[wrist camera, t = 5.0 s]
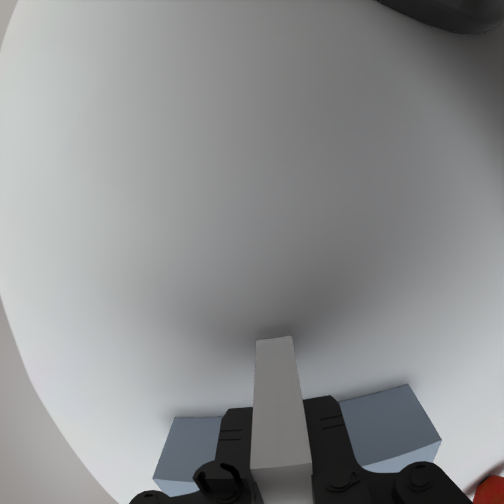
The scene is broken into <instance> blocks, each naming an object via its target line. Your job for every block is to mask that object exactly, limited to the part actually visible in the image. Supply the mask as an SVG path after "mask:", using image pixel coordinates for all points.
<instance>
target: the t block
mask: <svg viewBox="0 0 504 504" xmlns="http://www.w3.org/2000/svg"><path fill="white" fill-rule="evenodd" d="M338 403H339V404H340V408H341V411H342V414H343V418H344V421H345V425H346V428H347V431H348V434H349V438H350V441H351V445H352V448H353V452H354V455H355V458H356V460H357V462H358V464H359V465H360V466H361V467H363V468H364V469H366V470H368V471H371V472H377V473H394V472H400V471H401V470H402V469H403V468H404V467H406V466H407V465H409V464H412V463H414V462H419V461H427V462H431V463H433V460H434V458H435V456H436V453H437V451H438V448H439V446H440V443H441V441H442V439H441V438H440V436H439V434H438V432H437V431H436V429H435V427H434V426H433V424H432V422H431V420H430V419H429V417H428V415H427V414H426V412H425V410H424V409H423V407H422V406H421V404H420V402H419V401H418V399H417V397H416V396H415V394H414V393H413V391H412V389H411V388H410V386H409V385H408V384H406V385H403V386H399V387H396V388H393V389H389V390H386V391H382V392H378V393H374V394H370V395H366V396H362V397H358V398H354V399H349V400H345V401H340V402H338ZM222 418H223V417H191V418H178V417H175V418H174V421H173V423H172V426H171V429H170V432H169V434H168V437H167V440H166V442H165V445H164V448H163V451H162V453H161V456H160V459H159V462H158V464H157V467H156V470H155V473H154V475H153V478H152V479H153V480H154V481H155V483H156V484H157V485H158V486H159V488H160V489H161V490H162V492H163V493H165V494H167V495H168V496H169V497H173V496H179V495H185V494H190V493H193V492H196V491H198V490H200V489H199V488H198V486H197V485H196V483H195V482H194V480H193V479H192V477H193V475H194V473H195V471H196V470H197V469H198V468H199V467H200V466H202V465H203V464H205V463H208V462H210V461H213V460H215V454H216V448H217V442H218V436H219V433H220V425H221V419H222Z"/></svg>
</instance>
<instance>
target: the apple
mask: <svg viewBox="0 0 504 504" xmlns="http://www.w3.org/2000/svg"><path fill="white" fill-rule="evenodd" d="M473 503H474V504H504V477H500V476H495V475H493V476H490V477H488V478H487V479H486V480H485V481H484V482H483V483H481V484H480V485H479V486H478V487H477V489H476V493H475V496H474V499H473Z"/></svg>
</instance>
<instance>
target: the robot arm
mask: <svg viewBox="0 0 504 504" xmlns="http://www.w3.org/2000/svg"><path fill="white" fill-rule="evenodd" d="M378 1H380V2H382V3H384V4H386V5H388V6H390V7H392V8H394V9H396V10H398V11H400V12H402V13H404V14H407V15H409V16H411V17H413V18H415V19H418V20H420V21H423V22H425V23H428V24H430V25H433V26H436V27H439V28H442V29H445V30H449V31H453V32H458V33H464V34H479V33H484V32H486V31H488V30H490V29H492V28H494V27H496V26H498V25H499V24H501V23H503V22H504V0H378ZM192 479H193V480H194V482H195V483H196V485H197V486H198V488H199V489H200V490H198V491H196V492H193V493H190V494H185V495H179V496H173V497H169V496H168V495H167V494H165V493H163V492H161V491H155V490H150V491H144V492H142V493H140V494H138V495H136V496H135V497H134V498H133V499H132V500H131V502H130V503H129V504H474V503H473V502H472V501H471V500H470V499H469V498H468V497H467V496H466V495H465V494H464V493H463V492H462V491H461V490H460V489H459V487H458V486H457V485H456V484H455V483H454V482H453V481H452V480H451V479H450V478H449V477H448V476H447V475H446V474H445V472H444V471H443V470H442V469H441V468H440V467H438V466H437V465H436V464H434V463H431V462H427V461H419V462H414V463H412V464H409V465H407V466H406V467H404V468H403V469H402V470H401V471H400V472H394V473H377V472H371V471H368V470H366V469H364V468H363V467H361V466H360V465H359V464H358V462H357V460H356V458H355V455H354V452H353V448H352V445H351V441H350V438H349V434H348V431H347V428H346V425H345V421H344V418H343V414H342V411H341V408H340V404H339V403H338V402H337V401H336V400H335V399H334V398H333V397H332V396H331V395H328V396H323V397H317V398H311V399H305V400H302V394H301V388H300V382H299V375H298V369H297V363H296V358H295V352H294V346H293V340H292V335H291V336H285V337H278V338H271V339H263V340H256V356H255V378H254V400H253V407H247V408H234V409H228V411H227V412H226V414H225V415H224V416H223V418H222V419H221V425H220V433H219V436H218V442H217V448H216V454H215V460H213V461H210V462H208V463H205V464H203V465H202V466H200V467H199V468H198V469H197V470H196V471H195V473H194V475H193V477H192Z"/></svg>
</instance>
